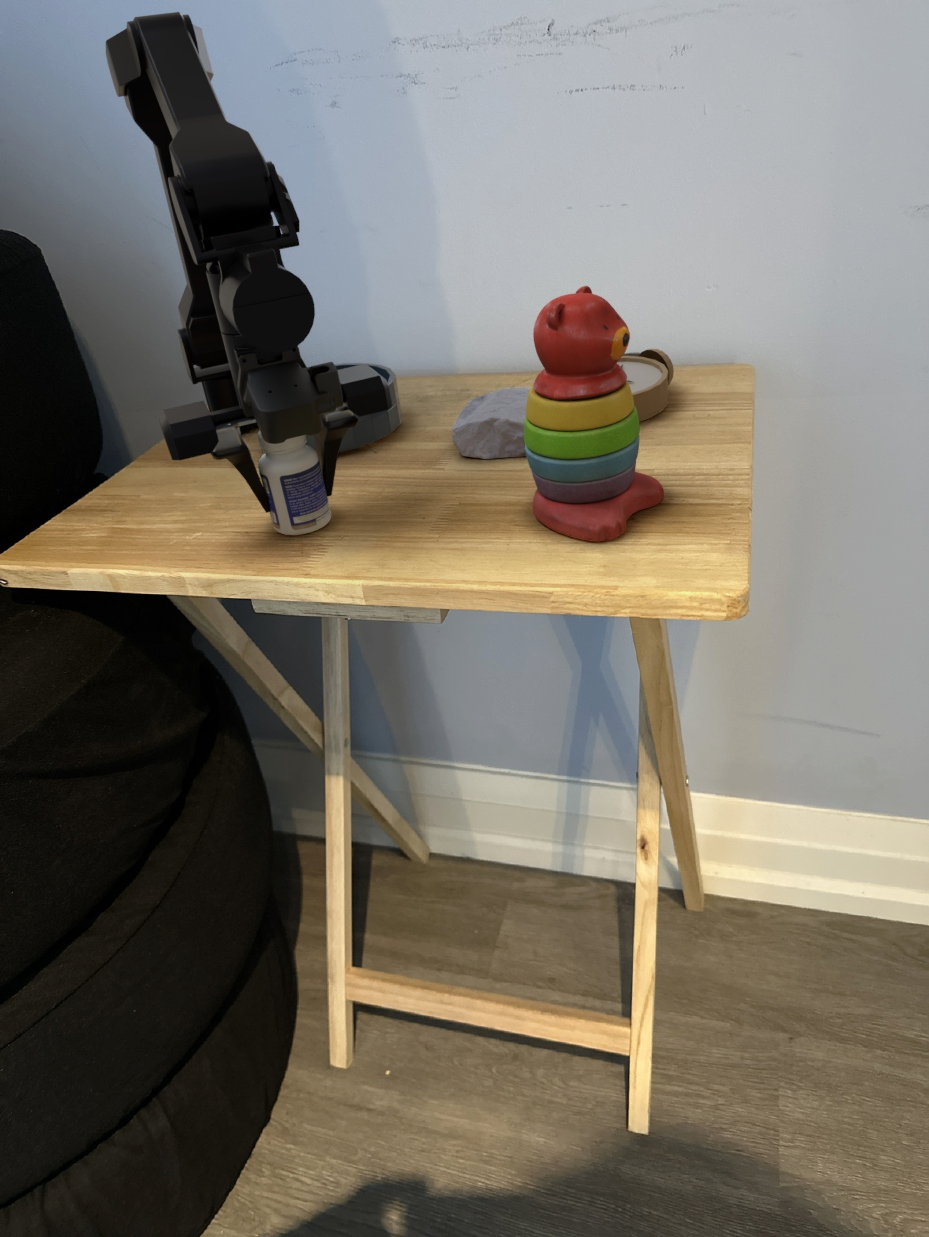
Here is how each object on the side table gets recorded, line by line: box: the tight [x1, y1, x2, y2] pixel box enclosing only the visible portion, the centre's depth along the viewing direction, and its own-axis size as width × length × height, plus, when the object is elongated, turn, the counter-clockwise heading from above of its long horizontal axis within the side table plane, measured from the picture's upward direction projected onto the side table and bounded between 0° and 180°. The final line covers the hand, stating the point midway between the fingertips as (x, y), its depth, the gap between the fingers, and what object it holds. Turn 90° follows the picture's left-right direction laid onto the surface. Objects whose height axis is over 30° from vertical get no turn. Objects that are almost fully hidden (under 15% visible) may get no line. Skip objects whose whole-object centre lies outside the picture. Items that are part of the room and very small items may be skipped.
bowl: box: [305, 362, 403, 453], centre depth 101 cm, size 15×15×6 cm
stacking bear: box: [524, 285, 665, 542], centre depth 74 cm, size 11×10×18 cm
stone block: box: [451, 386, 531, 460], centre depth 95 cm, size 12×5×10 cm
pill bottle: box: [257, 430, 332, 536], centre depth 81 cm, size 5×5×9 cm
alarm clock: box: [617, 348, 674, 422], centre depth 99 cm, size 11×5×15 cm
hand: (297, 502), depth 82 cm, fingers closed on pill bottle, 5 cm apart
